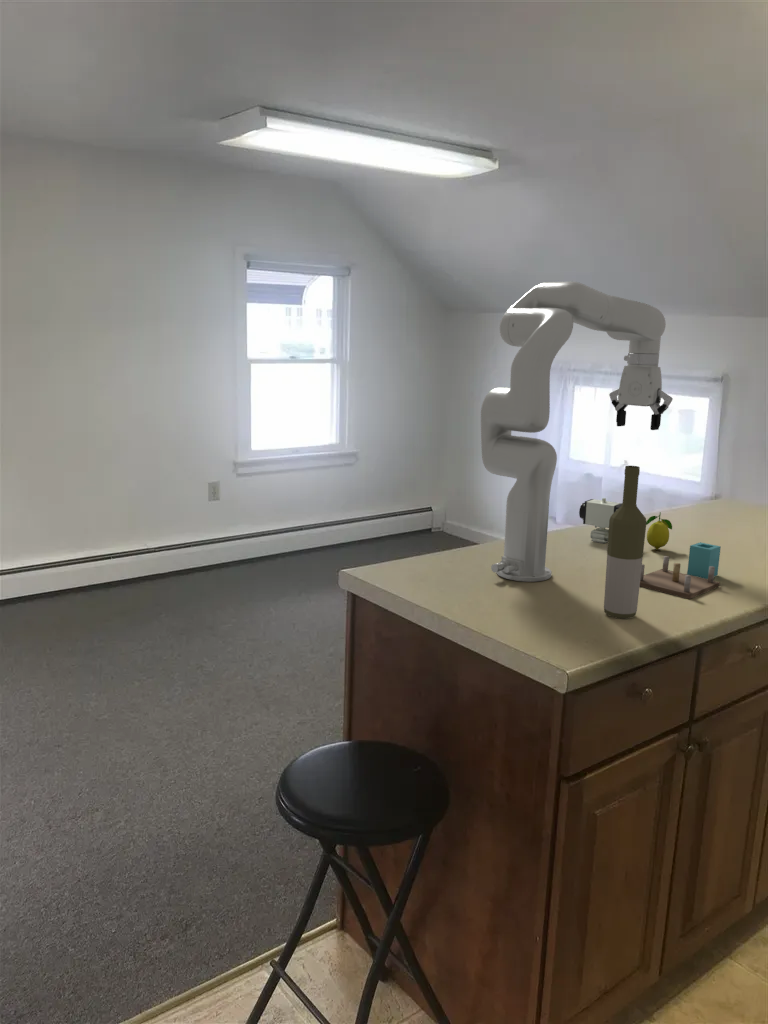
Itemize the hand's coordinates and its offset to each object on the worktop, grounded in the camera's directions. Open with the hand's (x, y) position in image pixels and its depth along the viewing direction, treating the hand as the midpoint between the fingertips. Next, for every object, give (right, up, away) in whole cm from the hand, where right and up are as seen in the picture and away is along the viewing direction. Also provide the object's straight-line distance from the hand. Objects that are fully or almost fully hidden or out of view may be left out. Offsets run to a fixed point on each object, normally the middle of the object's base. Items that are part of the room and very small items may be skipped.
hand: (637, 427), depth 218 cm
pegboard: (0, -38, -29) cm, 48 cm away
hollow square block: (+9, -37, -20) cm, 43 cm away
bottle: (-19, -43, -50) cm, 68 cm away
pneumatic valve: (-7, -30, +9) cm, 32 cm away
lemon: (+5, -32, +2) cm, 32 cm away
